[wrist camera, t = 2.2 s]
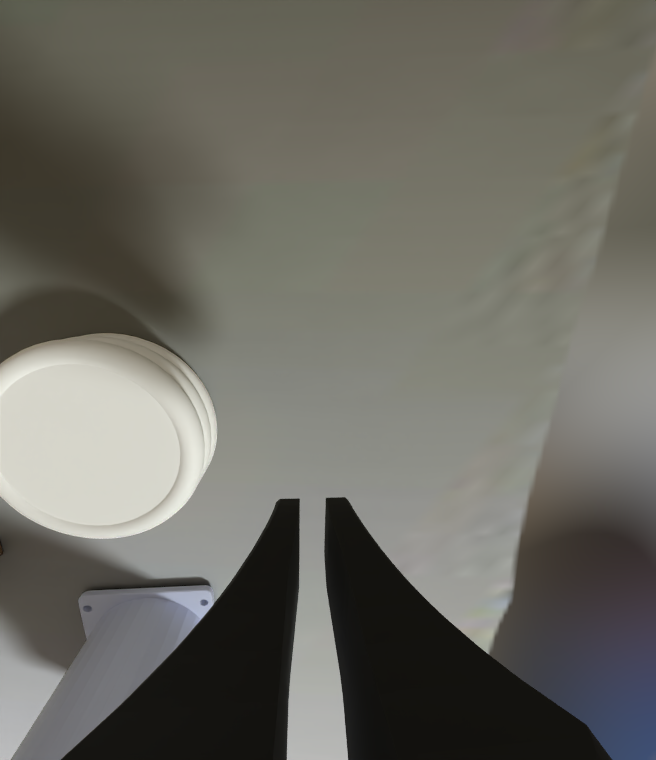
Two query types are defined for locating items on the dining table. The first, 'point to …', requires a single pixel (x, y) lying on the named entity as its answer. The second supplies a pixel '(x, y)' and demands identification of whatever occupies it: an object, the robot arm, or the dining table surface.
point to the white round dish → (102, 434)
